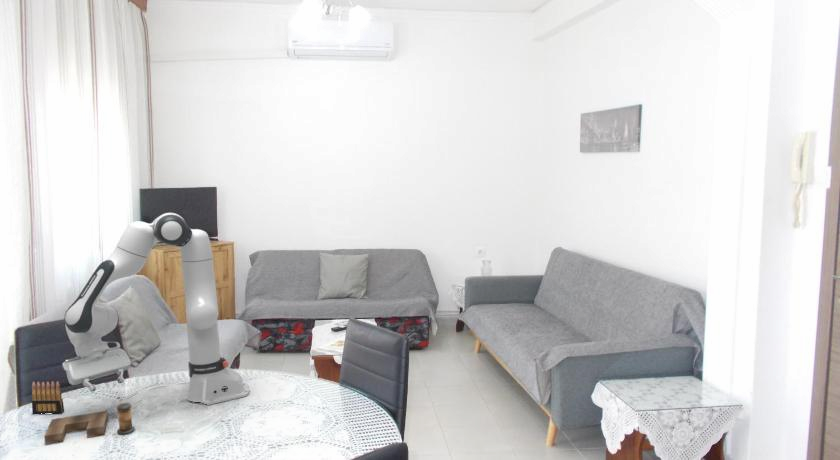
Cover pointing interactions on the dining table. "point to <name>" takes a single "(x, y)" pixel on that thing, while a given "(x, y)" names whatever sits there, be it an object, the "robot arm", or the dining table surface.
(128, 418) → the bobbin
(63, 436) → the notched board
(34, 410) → the ammunition clip
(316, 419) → the dining table surface
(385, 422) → the dining table surface
